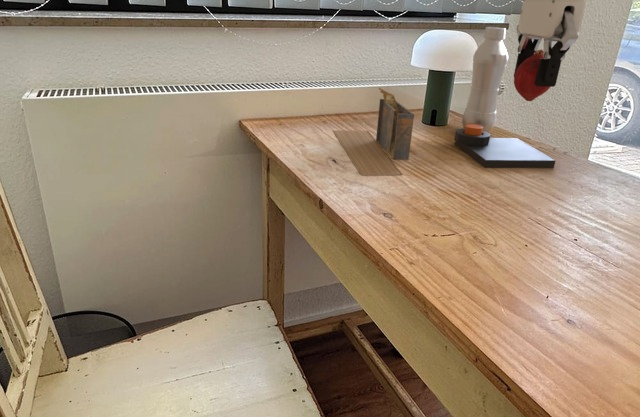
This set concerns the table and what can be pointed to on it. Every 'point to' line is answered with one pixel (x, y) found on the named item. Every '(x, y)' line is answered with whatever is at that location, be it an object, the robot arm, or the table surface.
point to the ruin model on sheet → (381, 139)
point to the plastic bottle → (486, 80)
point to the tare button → (473, 129)
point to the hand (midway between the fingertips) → (533, 81)
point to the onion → (529, 77)
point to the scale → (501, 151)
